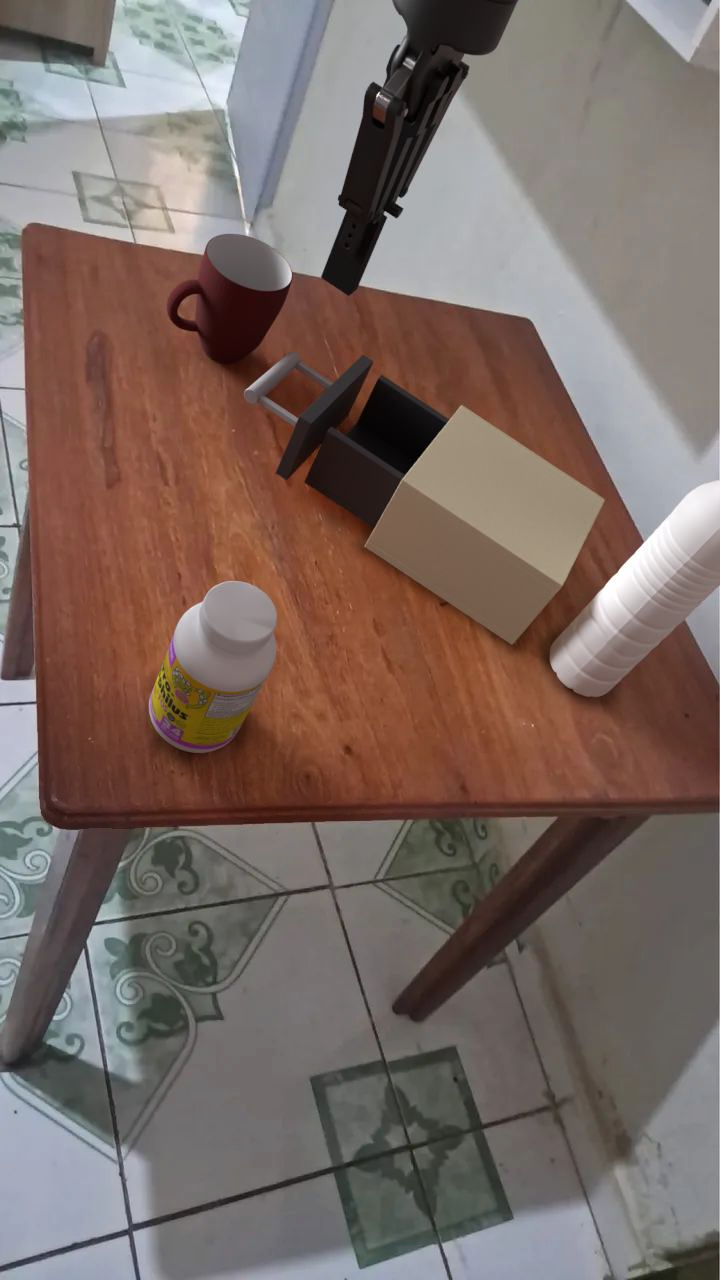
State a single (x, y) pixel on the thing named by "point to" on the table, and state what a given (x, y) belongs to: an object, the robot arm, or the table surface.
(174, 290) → the mug
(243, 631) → the supplement bottle
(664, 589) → the water bottle
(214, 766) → the table surface
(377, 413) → the dark grey drawer
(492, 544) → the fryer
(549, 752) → the table surface
